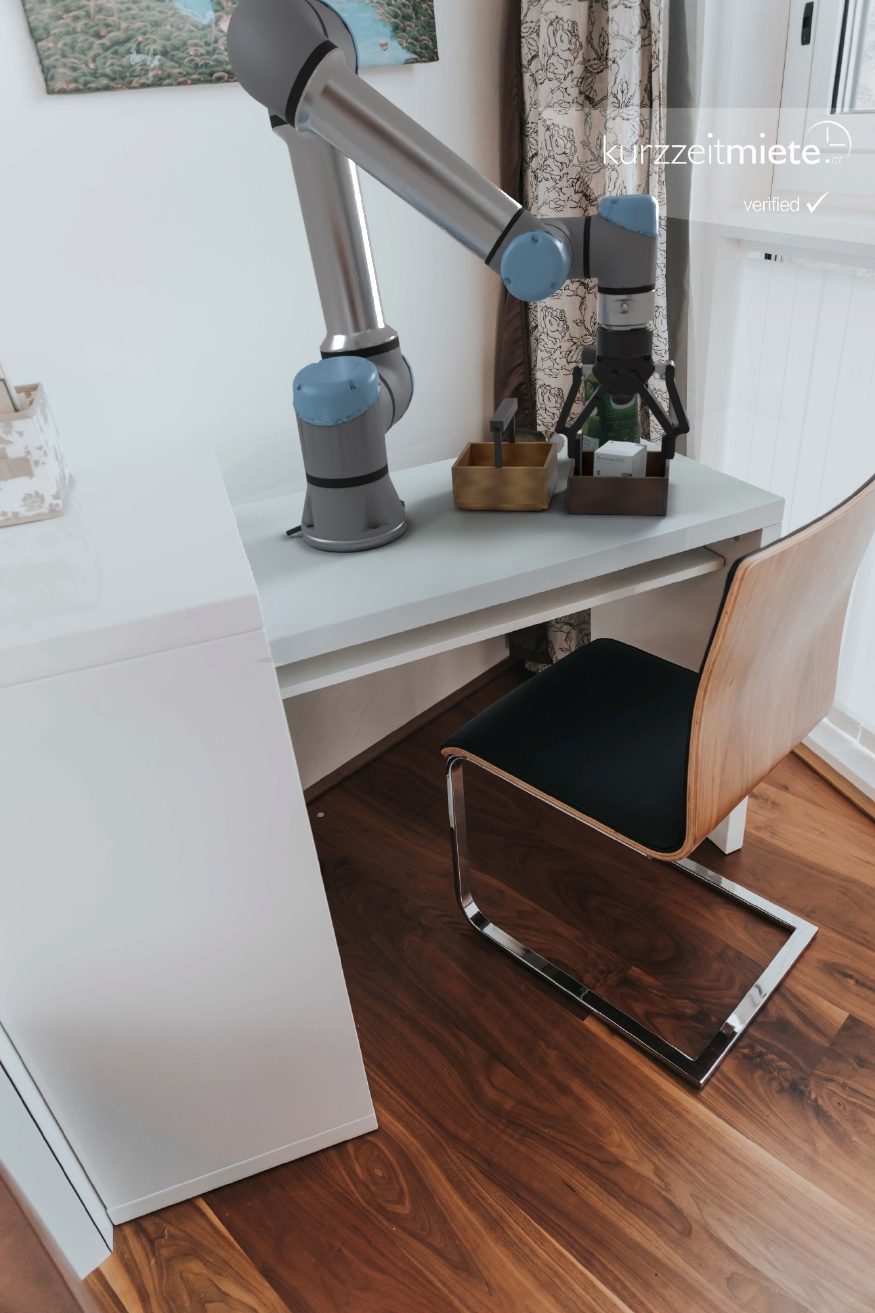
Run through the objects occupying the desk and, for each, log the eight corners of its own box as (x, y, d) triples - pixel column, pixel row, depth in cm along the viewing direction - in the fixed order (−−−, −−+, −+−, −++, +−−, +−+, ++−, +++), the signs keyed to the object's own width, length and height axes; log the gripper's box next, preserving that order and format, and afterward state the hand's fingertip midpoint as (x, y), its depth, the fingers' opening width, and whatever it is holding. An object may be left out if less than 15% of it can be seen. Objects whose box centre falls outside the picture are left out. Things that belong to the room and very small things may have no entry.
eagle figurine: (535, 446, 152) (493, 448, 147) (554, 415, 147) (511, 416, 142) (556, 479, 149) (513, 482, 144) (576, 449, 143) (532, 451, 139)
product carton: (591, 500, 130) (592, 451, 126) (606, 486, 134) (608, 439, 130) (631, 505, 127) (633, 455, 123) (645, 491, 131) (648, 443, 128)
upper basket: (454, 512, 132) (447, 421, 125) (470, 484, 142) (465, 398, 135) (547, 513, 128) (546, 420, 122) (557, 485, 138) (557, 397, 131)
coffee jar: (619, 444, 153) (623, 333, 144) (647, 456, 147) (652, 340, 137) (572, 455, 150) (572, 342, 140) (597, 468, 144) (599, 350, 134)
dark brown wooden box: (567, 513, 128) (567, 477, 125) (575, 484, 138) (576, 450, 135) (666, 515, 124) (668, 478, 122) (668, 485, 134) (670, 450, 132)
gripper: (532, 332, 118) (535, 487, 129) (718, 327, 112) (704, 490, 124) (540, 321, 124) (542, 470, 135) (716, 316, 119) (703, 472, 130)
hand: (619, 479), depth 129 cm, fingers closed on dark brown wooden box, 11 cm apart
